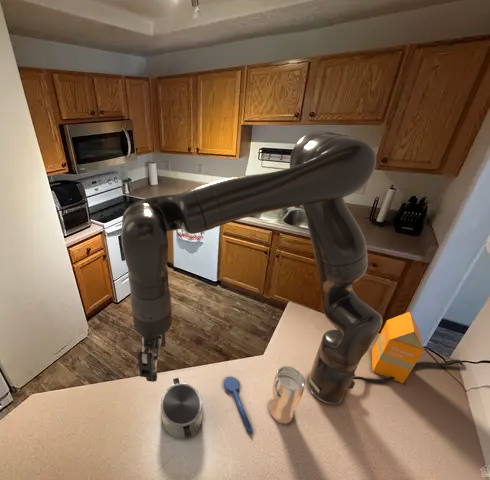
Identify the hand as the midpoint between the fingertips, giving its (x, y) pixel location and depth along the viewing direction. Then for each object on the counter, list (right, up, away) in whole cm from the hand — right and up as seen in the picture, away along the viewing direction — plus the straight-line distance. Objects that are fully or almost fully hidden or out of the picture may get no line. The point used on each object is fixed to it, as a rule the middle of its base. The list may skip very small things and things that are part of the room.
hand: (156, 361), depth 57 cm
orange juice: (+71, -14, +25) cm, 77 cm away
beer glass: (+33, -21, +14) cm, 42 cm away
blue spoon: (+22, -20, +17) cm, 34 cm away
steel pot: (+6, -22, +14) cm, 27 cm away
